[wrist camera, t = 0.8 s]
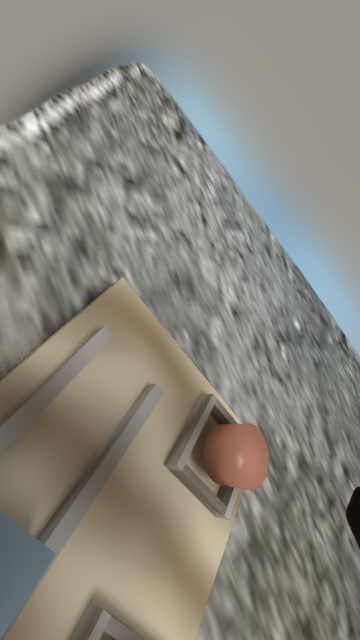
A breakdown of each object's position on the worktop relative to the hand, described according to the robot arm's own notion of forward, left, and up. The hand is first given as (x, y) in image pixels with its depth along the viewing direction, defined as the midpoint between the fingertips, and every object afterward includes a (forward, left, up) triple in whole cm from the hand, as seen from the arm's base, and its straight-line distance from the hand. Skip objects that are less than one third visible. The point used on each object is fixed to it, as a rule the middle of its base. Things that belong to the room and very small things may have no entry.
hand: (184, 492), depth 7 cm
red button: (+7, -8, -8) cm, 13 cm away
